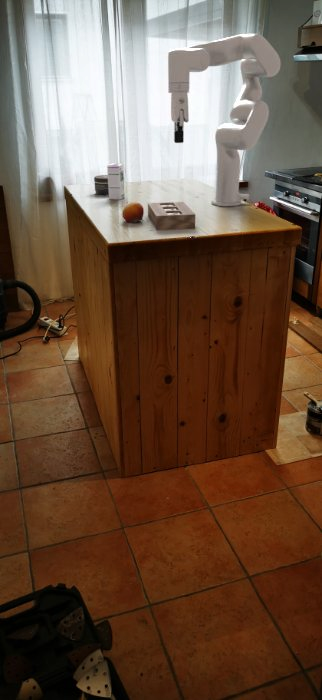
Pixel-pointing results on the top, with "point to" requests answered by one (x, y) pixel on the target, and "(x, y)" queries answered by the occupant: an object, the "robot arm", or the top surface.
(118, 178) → the syrup box
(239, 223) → the top surface
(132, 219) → the fruit
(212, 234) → the top surface
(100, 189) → the jar
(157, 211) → the wooden slot board
